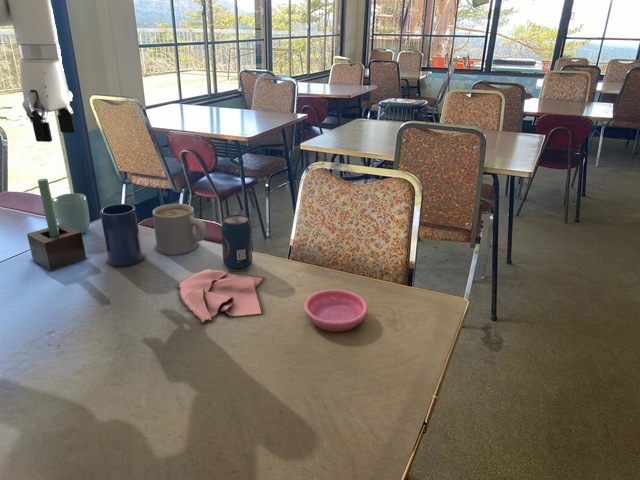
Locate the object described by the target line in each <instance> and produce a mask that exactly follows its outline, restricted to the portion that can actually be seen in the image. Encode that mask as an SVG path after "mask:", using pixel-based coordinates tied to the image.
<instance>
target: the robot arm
mask: <svg viewBox="0 0 640 480" xmlns="http://www.w3.org/2000/svg"><path fill="white" fill-rule="evenodd" d="M11 26H12V27H13V31H14V36H15V40H16V45H17V50H18V55H19V59H20V62H19V74H20V75H19V76H20V83H21V84H20V85H21V90H22V91H21V92H22V95H23V102H22V103H21V104H22V108H23V109H24V111H25V114H26V116H27V117H28V118H29V122H30V123H31V124H32V128H33V132H34V138H35V141H36V142H39V143H51V142H52V141H53V136H52V132H51V127H50V122H48V121H47V120H48V115H49V113H52V112H57V113H58V114H57V120H58V126H59V131H60V132H61V133H67V134H73V133H76V128H75V122H74V117H73V114H74V110H73V106H74V103H73V93H72V91H70V90H69V86H68V82H67V78H66V74H65V71H64V68H63V64H62V62H63V61H62V56H61V49H60V44H59V38H58V33H57V27H56V23H55V17H54V11H53V6H52V0H0V27H1V28H2V27H11Z"/></svg>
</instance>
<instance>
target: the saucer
mask: <svg viewBox="0 0 640 480" xmlns="http://www.w3.org/2000/svg"><path fill="white" fill-rule="evenodd" d="M303 310H304V311H303V312H304V313H305V316H306V317H307V318H308V320H309V321H310V322H312V323H313V324H314V325H315V326H317V327H318V328H320V329H322V330H324V331H328V332H335V333H336V332H337V333H338V332H339V333H340V332H345V331H346V332H347V331H349V330H352V329H354V328H355V327H356V326H358V325H359V324H361V322H362V321H363V320H365V319H366V317H367V316H368V312H369V307H368V304H367V302H366V300H365V299H364V298H363V297H361V296H360V295H358V294H357V293H354V292H352V291H350V290H349V291H348V290H345V289H326V290H320V291H317V292H315V293H313V294H311V295H309V297H308V298H306V300H305V301H304V305H303Z"/></svg>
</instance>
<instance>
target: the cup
mask: <svg viewBox="0 0 640 480" xmlns="http://www.w3.org/2000/svg"><path fill="white" fill-rule="evenodd" d="M52 202H53V207H54V211H55V216H56V221H57V225H59V224H65V225H68V226H70V227H72V228H74V229H76V230H78V231H80V232H81V233H82V234H84V233H86V232H87V231H88V230H89V229H90V225H91V217H90V209H89V204H88V199H87V196H86V195H85V194H84V193H77V192H76V193H75V192H74V193H65V194H64V193H63V194H60V195H57V196H56V197H54V198H53V199H52Z"/></svg>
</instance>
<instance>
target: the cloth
mask: <svg viewBox="0 0 640 480" xmlns="http://www.w3.org/2000/svg"><path fill="white" fill-rule="evenodd" d="M262 280H263V277H256V276H249V275H240V274H232V273H228V272H226V271H223V270H218V269H215V270H213V269H204V270H203V269H202V271H200V272H196V273H194V274H193V275H191V276H189V277H187V278H186V279H184V280H183V281H181V282H180V283H179V284H178V288H180V290H179V291H180V292H179V293H180V297H181V300H182V302H183V303H184V305H185V306H187V308H188V309H189V311H191V312H192V313H193V315H194V316H196V317H197V318H199V320H200V321H201V322H202V323H205V322H207V321H213V320H212V319H213V318H214V317H215V316H216V315H218V311H220V312H221V313H225V314H226V315H228V316H229V317H243V316H255V315H262V312H261V306H260V303H259V302H260V301H259V299H258V295H257V291H256V287H257V286H258V285H259V284H260V283H261V282H262Z"/></svg>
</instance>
